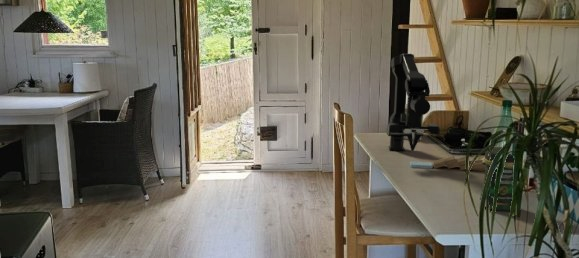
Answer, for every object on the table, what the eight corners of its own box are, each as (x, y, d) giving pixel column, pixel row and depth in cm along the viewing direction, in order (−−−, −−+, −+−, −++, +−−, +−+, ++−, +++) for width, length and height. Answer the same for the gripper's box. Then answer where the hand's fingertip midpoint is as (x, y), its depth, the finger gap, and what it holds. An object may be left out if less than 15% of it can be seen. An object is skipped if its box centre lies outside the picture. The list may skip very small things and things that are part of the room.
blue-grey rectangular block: (409, 161, 212) (430, 162, 211) (409, 165, 212) (430, 166, 211) (411, 164, 207) (432, 165, 206) (410, 168, 207) (432, 169, 206)
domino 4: (460, 161, 208) (482, 159, 205) (461, 165, 209) (483, 163, 206) (459, 165, 204) (481, 163, 201) (460, 169, 204) (482, 167, 201)
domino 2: (433, 161, 211) (453, 155, 209) (434, 165, 211) (455, 159, 209) (433, 164, 206) (454, 158, 204) (435, 168, 206) (456, 162, 204)
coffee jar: (483, 210, 161) (488, 149, 157) (477, 202, 169) (482, 143, 165) (517, 212, 160) (523, 151, 156) (510, 203, 168) (515, 144, 164)
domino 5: (468, 164, 209) (490, 165, 208) (467, 168, 209) (489, 169, 208) (470, 167, 204) (492, 168, 203) (470, 171, 205) (492, 172, 203)
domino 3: (447, 161, 210) (468, 155, 207) (448, 165, 210) (469, 159, 207) (446, 164, 205) (468, 159, 202) (448, 168, 205) (469, 163, 203)
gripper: (436, 107, 212) (434, 146, 215) (388, 106, 214) (386, 144, 217) (441, 112, 201) (438, 153, 204) (390, 110, 203) (388, 151, 206)
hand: (412, 150), depth 208 cm, fingers closed
